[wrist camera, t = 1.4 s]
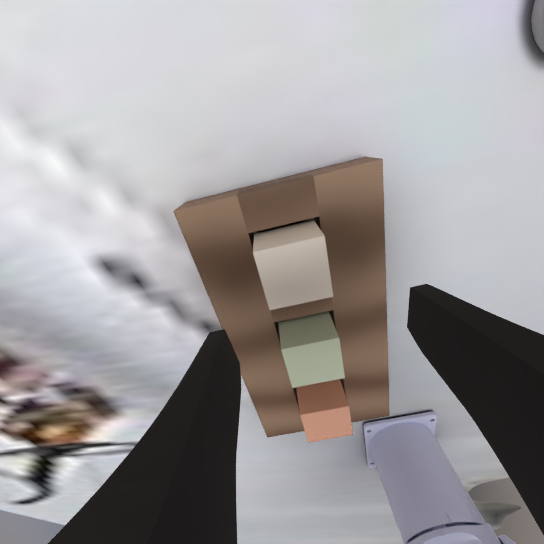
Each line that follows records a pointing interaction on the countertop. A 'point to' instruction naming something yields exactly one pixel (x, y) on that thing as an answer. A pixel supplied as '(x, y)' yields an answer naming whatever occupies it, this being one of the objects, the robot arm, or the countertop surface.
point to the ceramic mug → (538, 23)
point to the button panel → (342, 306)
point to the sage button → (311, 349)
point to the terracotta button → (324, 410)
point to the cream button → (293, 265)
